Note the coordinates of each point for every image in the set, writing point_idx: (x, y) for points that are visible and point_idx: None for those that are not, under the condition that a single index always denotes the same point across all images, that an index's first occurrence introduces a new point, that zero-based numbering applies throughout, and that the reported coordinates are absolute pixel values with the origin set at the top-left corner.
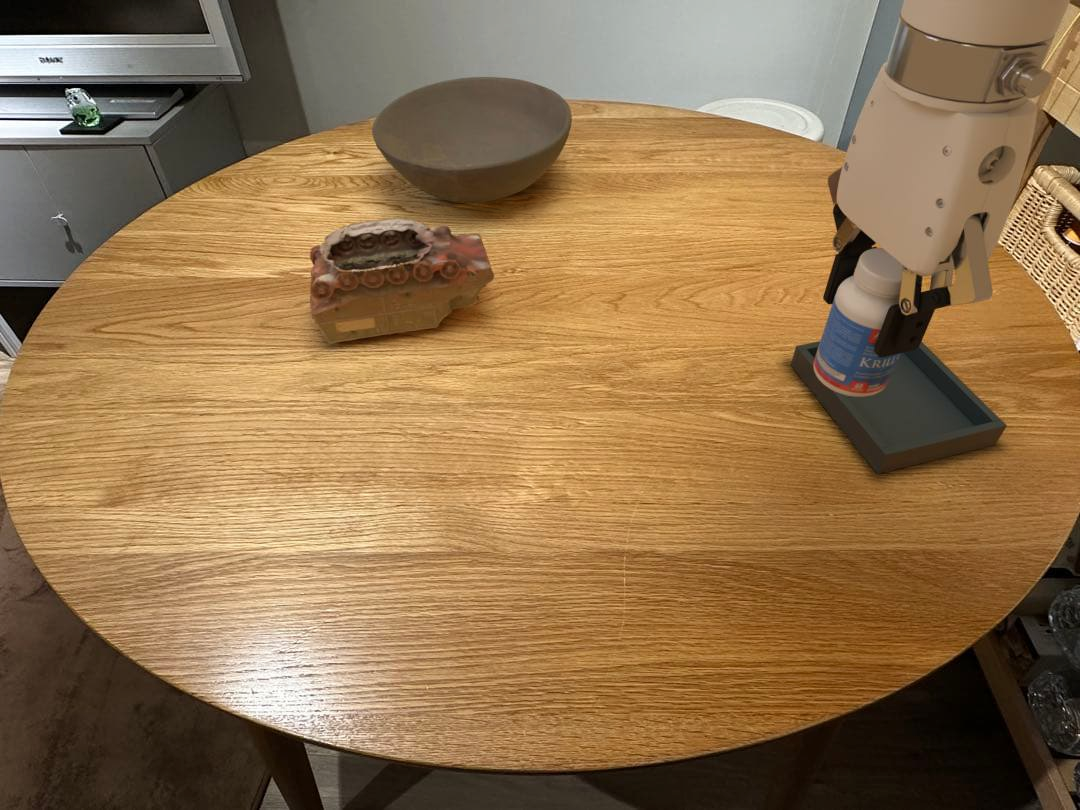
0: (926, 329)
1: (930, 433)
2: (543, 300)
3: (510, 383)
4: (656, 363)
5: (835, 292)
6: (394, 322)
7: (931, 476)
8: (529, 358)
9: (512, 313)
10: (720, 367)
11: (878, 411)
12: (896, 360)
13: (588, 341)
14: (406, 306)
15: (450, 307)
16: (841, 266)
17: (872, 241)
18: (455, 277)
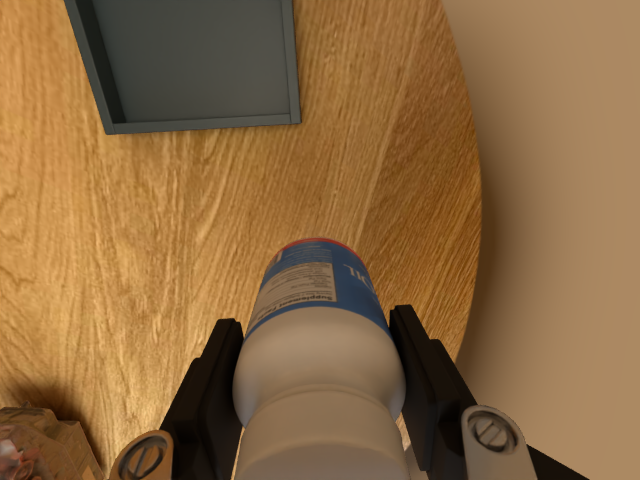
0: (456, 368)
1: (261, 25)
2: (22, 339)
3: (149, 378)
4: (122, 268)
5: None
6: (82, 456)
7: (316, 63)
8: (116, 362)
9: (48, 365)
10: (128, 211)
11: (216, 71)
12: (371, 285)
13: (89, 316)
14: (67, 465)
15: (59, 429)
16: (231, 471)
17: (176, 470)
18: (30, 460)
